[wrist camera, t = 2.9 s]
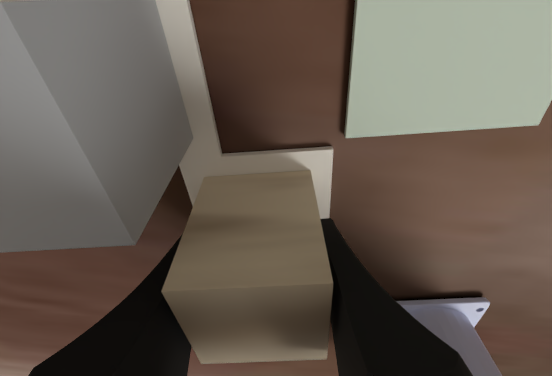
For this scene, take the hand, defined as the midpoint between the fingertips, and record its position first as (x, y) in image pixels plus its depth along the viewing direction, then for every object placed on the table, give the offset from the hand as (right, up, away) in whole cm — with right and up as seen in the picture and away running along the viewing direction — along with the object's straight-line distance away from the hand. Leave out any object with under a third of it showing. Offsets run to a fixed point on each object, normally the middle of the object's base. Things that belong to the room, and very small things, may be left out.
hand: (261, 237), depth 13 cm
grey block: (-5, +6, -3) cm, 9 cm away
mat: (+7, +8, -3) cm, 11 cm away
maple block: (0, +1, +1) cm, 2 cm away
